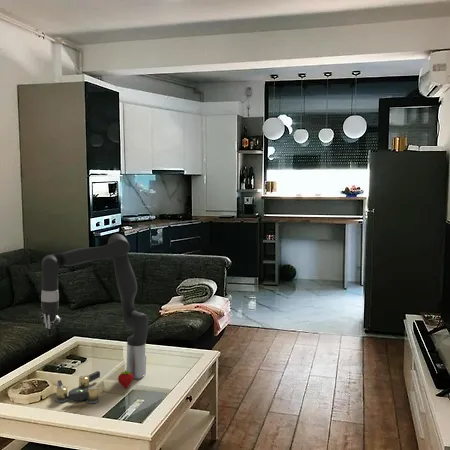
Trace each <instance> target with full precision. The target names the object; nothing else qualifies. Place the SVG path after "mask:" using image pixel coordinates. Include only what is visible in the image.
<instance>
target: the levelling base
mask: <svg viewBox="0 0 450 450" xmlns="http://www.w3.org/2000/svg"><path fill="white" fill-rule="evenodd" d="M89 388H91V386H90V385H89V387H88V388H83V387H81V388H79V385H78V387H75V388H72V389H70V390H69V391H68V392H67V399H65V400H57V396H56V397H55V403H58V404H64V403H67V402H68V401H72V402H74V403H75V402H77V403H78V402H86V403H87V404H89V405H96V404H98V403H99V402H100V398H99V397H98V400H96V401H89V400H88V398H84V399H77V400H70V393H72V392H80V391H87V390H88V389H89Z"/></svg>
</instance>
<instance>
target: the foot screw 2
mask: <svg viewBox="0 0 450 450" xmlns="http://www.w3.org/2000/svg"><path fill="white" fill-rule="evenodd" d="M84 398H88V400H89V401H96V400H98V398H99V388H98V387H96V386H95V387H94V386H92V387H91V386H90V388H89V389H88V390H87V391H80V392H72V393H70V400H69V401H71V400H77V399H84Z"/></svg>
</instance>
